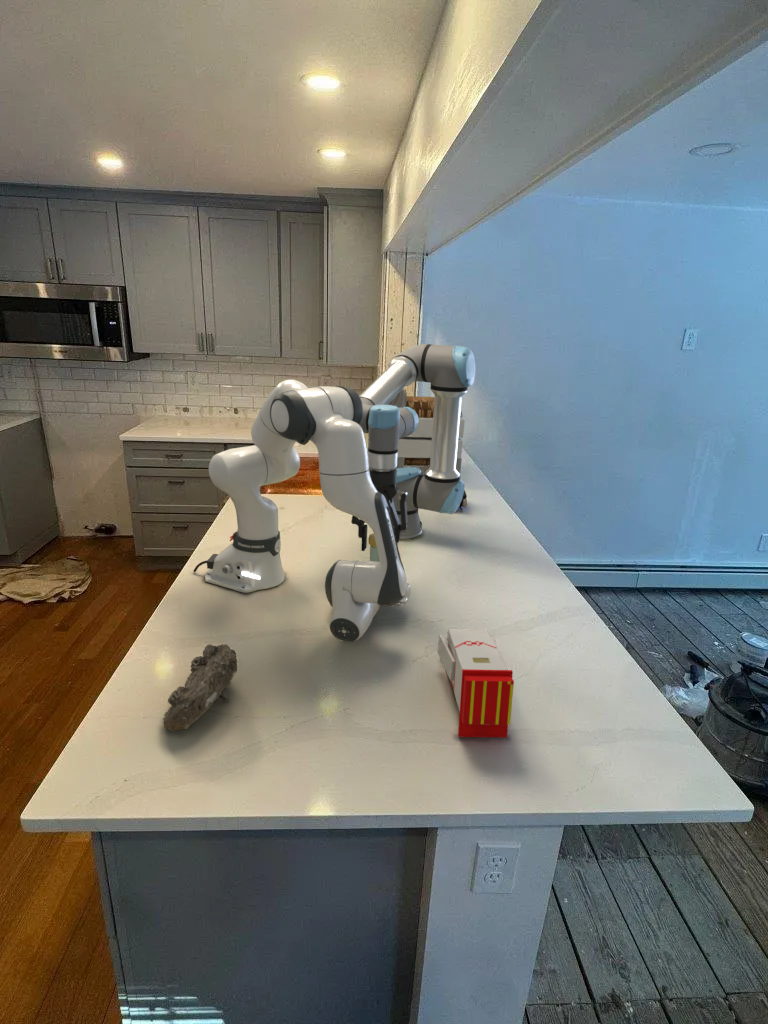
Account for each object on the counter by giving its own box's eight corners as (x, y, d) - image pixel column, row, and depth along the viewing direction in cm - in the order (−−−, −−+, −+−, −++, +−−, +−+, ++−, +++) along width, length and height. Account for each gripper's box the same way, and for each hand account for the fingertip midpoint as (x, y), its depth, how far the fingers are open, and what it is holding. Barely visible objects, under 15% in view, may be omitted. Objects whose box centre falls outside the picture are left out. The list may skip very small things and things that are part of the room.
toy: (488, 613, 130) (523, 677, 101) (484, 667, 133) (517, 744, 104) (435, 612, 130) (455, 676, 101) (432, 666, 133) (451, 743, 103)
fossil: (188, 646, 122) (238, 614, 117) (219, 675, 125) (269, 646, 120) (140, 724, 103) (196, 691, 98) (177, 757, 105) (234, 726, 100)
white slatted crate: (382, 463, 289) (386, 382, 275) (445, 464, 293) (451, 384, 279) (390, 482, 257) (394, 392, 243) (460, 483, 261) (468, 394, 247)
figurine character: (467, 516, 223) (461, 500, 237) (469, 499, 220) (463, 483, 233) (450, 516, 223) (446, 499, 236) (452, 498, 220) (447, 483, 233)
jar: (381, 592, 158) (384, 534, 152) (387, 600, 154) (390, 541, 148) (365, 594, 157) (368, 536, 151) (371, 602, 153) (373, 543, 147)
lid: (365, 540, 151) (366, 533, 151) (385, 538, 153) (385, 531, 152) (372, 548, 147) (372, 541, 146) (392, 546, 148) (392, 539, 148)
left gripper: (405, 594, 138) (416, 570, 151) (325, 581, 143) (343, 559, 155) (403, 616, 140) (414, 591, 153) (325, 603, 145) (342, 580, 157)
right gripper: (423, 467, 144) (418, 550, 152) (347, 460, 148) (346, 541, 156) (419, 475, 137) (413, 561, 145) (339, 467, 141) (337, 551, 149)
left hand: (378, 575), depth 154 cm, fingers closed on jar, 4 cm apart
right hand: (378, 550), depth 151 cm, fingers open, 7 cm apart
